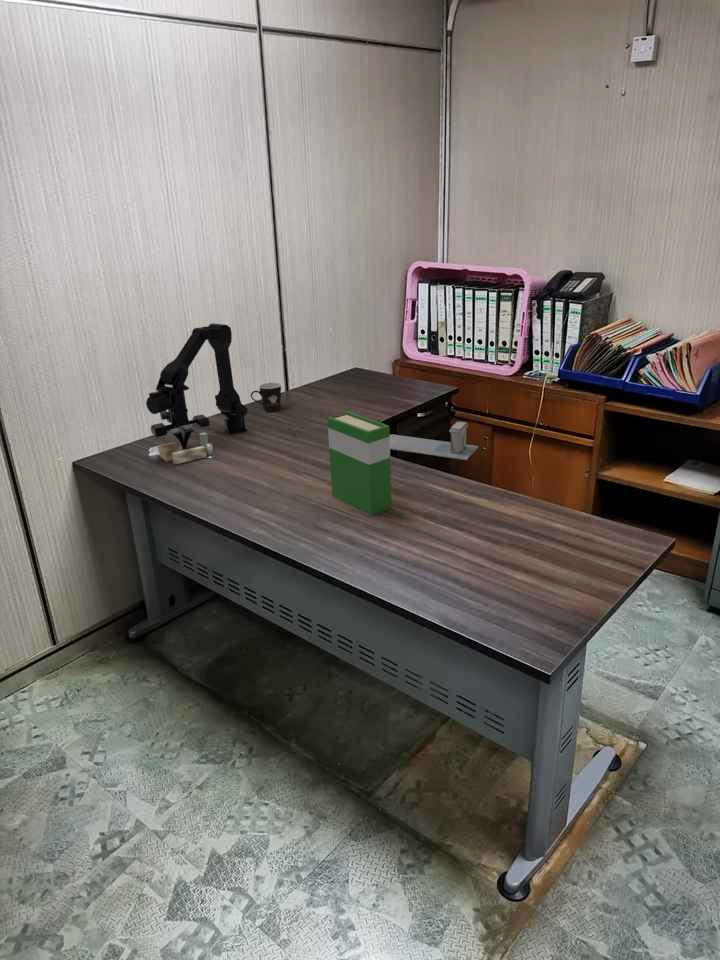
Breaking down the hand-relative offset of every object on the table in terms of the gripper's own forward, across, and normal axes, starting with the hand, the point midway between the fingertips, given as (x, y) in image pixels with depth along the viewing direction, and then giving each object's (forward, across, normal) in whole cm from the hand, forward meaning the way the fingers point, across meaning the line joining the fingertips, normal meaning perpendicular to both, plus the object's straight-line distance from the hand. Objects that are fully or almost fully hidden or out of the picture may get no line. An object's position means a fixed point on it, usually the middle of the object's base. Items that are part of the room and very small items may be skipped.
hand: (184, 449), depth 238 cm
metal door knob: (+2, -6, +7) cm, 10 cm away
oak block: (+2, +5, 0) cm, 5 cm away
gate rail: (+1, +1, +7) cm, 8 cm away
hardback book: (+2, -29, +68) cm, 74 cm away
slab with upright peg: (+2, -69, +45) cm, 82 cm away
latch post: (+2, -9, -4) cm, 10 cm away
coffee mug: (+2, -44, -26) cm, 51 cm away
